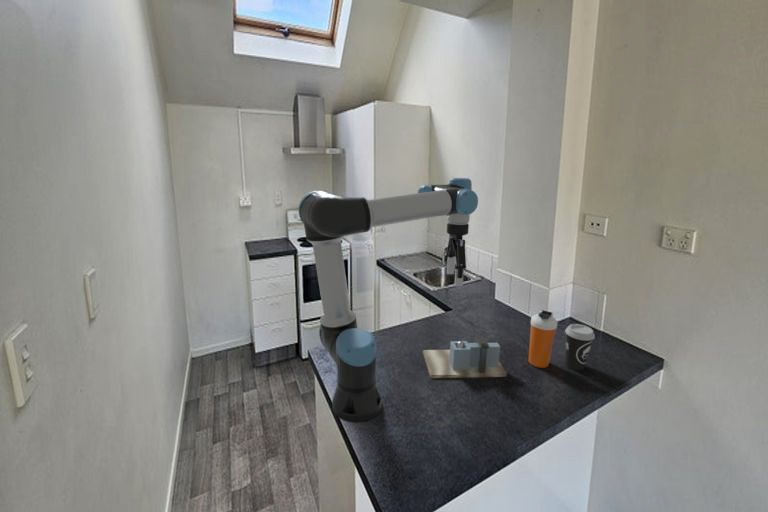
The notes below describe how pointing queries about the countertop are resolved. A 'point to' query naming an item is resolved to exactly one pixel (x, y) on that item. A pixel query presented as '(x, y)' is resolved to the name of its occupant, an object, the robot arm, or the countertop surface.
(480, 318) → the countertop surface
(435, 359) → the board
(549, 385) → the countertop surface
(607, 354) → the countertop surface
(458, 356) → the link
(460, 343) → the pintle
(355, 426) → the countertop surface
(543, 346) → the shaker bottle
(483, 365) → the post
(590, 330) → the coffee cup
